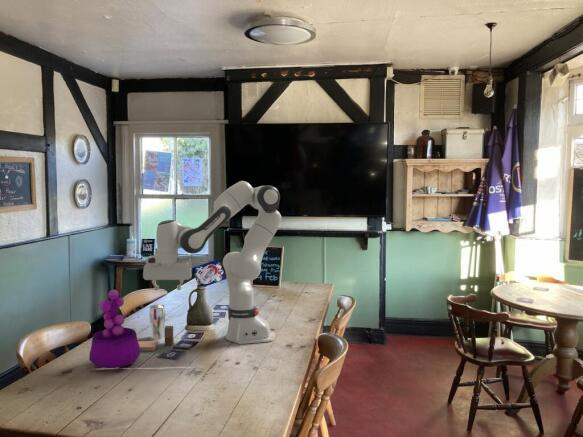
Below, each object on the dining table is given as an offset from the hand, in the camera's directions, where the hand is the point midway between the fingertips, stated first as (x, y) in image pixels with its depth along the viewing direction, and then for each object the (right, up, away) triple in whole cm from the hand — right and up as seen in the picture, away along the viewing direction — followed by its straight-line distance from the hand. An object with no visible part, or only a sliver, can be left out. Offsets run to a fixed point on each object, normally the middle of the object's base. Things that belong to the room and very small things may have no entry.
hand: (167, 289), depth 207 cm
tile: (-4, -24, -2) cm, 24 cm away
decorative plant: (-16, -27, -18) cm, 36 cm away
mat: (-7, -25, -2) cm, 26 cm away
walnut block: (0, -24, +2) cm, 25 cm away
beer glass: (-8, -24, +12) cm, 28 cm away
